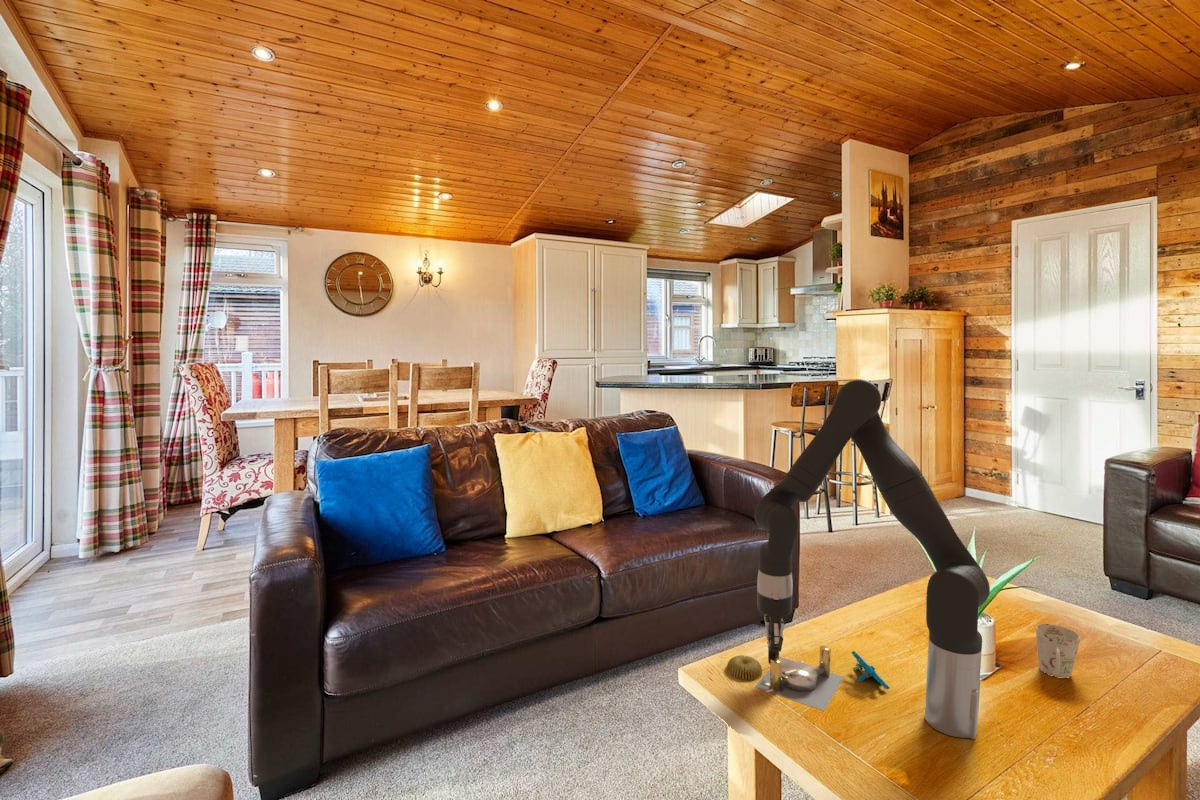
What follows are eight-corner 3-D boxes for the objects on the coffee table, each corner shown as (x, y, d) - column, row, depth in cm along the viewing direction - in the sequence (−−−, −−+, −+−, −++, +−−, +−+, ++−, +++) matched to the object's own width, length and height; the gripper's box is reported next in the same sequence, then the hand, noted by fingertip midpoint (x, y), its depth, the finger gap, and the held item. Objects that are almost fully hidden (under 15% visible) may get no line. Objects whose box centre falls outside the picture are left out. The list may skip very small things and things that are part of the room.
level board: (845, 680, 139) (845, 673, 139) (823, 718, 125) (823, 711, 125) (781, 660, 148) (781, 654, 148) (754, 694, 134) (754, 687, 134)
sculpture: (769, 661, 140) (749, 674, 135) (768, 678, 140) (748, 691, 135) (740, 648, 146) (720, 660, 141) (740, 664, 146) (719, 676, 141)
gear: (898, 693, 131) (864, 658, 132) (879, 712, 131) (845, 677, 132) (880, 673, 142) (848, 641, 143) (861, 690, 142) (830, 658, 143)
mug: (1074, 669, 144) (1077, 629, 143) (1082, 695, 134) (1085, 651, 133) (1032, 659, 149) (1034, 620, 148) (1036, 683, 138) (1038, 641, 137)
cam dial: (815, 663, 143) (816, 639, 142) (841, 681, 136) (842, 655, 135) (759, 678, 136) (760, 653, 136) (783, 697, 129) (784, 671, 129)
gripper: (755, 576, 141) (754, 646, 143) (759, 601, 128) (758, 678, 130) (788, 578, 140) (787, 649, 142) (796, 604, 127) (794, 681, 129)
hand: (773, 663), depth 136 cm, fingers closed
